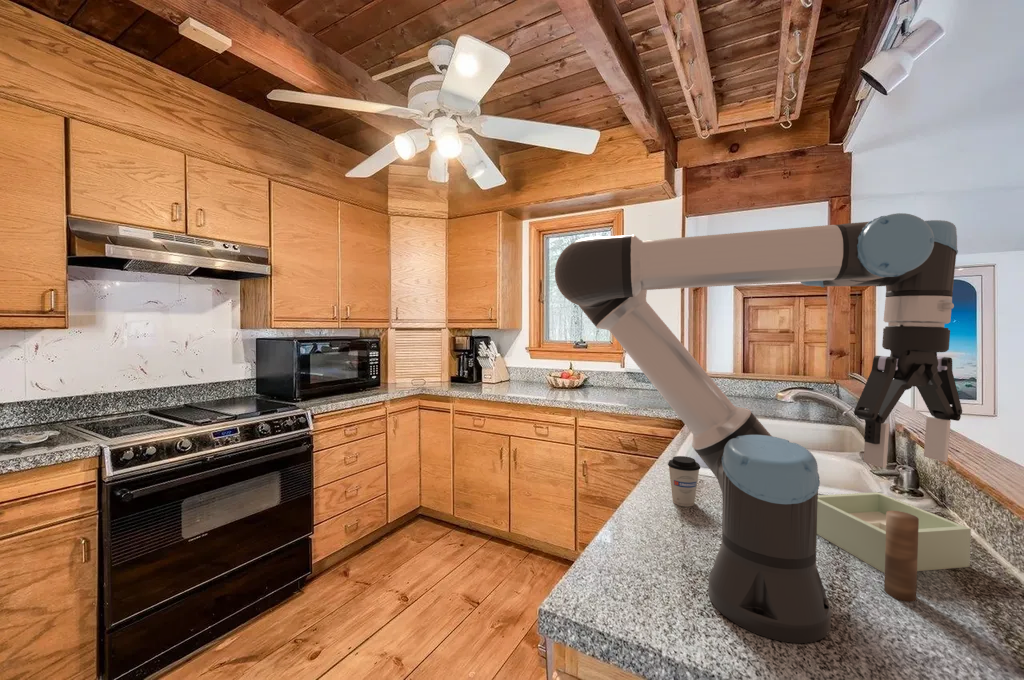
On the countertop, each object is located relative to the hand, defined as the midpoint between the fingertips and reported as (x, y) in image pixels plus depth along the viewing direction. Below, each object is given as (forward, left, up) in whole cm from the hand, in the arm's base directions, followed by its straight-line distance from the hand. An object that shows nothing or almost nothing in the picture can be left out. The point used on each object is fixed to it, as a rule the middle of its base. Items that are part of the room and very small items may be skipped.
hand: (905, 461), depth 67 cm
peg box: (+8, +11, -19) cm, 23 cm away
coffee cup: (-18, +34, -20) cm, 43 cm away
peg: (-3, -2, -19) cm, 20 cm away
